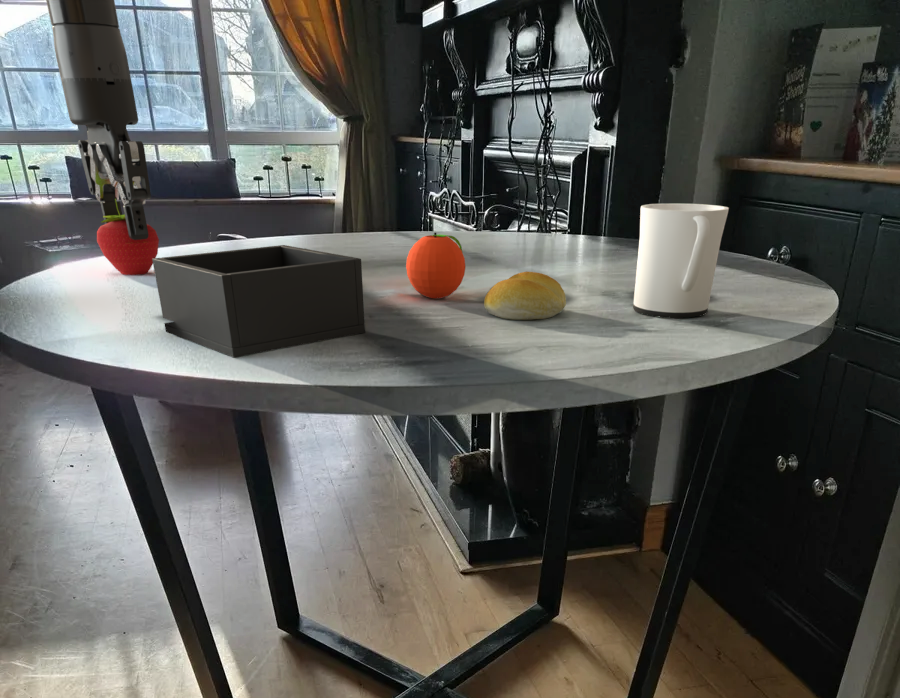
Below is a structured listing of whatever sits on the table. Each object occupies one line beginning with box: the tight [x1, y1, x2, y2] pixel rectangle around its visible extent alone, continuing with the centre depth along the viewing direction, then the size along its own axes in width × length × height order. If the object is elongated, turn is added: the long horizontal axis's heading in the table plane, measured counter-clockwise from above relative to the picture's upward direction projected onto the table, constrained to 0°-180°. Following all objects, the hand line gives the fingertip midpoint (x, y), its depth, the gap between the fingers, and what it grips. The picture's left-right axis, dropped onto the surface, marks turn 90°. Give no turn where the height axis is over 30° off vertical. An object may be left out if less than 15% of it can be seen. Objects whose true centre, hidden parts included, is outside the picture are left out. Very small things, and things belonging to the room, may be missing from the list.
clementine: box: [405, 232, 466, 300], centre depth 91 cm, size 8×7×7 cm
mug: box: [632, 203, 730, 319], centre depth 83 cm, size 11×9×10 cm
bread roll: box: [483, 271, 567, 321], centre depth 84 cm, size 8×9×4 cm
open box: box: [152, 244, 366, 358], centre depth 75 cm, size 15×14×7 cm
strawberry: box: [96, 199, 160, 276], centre depth 98 cm, size 6×8×10 cm
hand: (127, 236), depth 97 cm, fingers closed on strawberry, 6 cm apart
